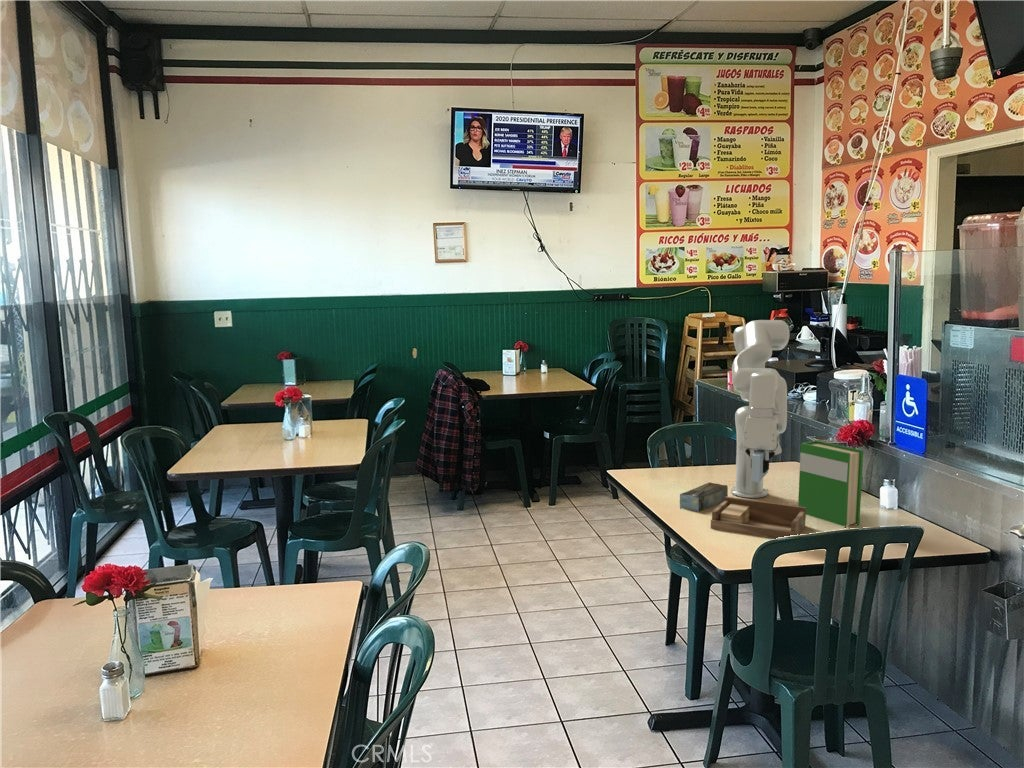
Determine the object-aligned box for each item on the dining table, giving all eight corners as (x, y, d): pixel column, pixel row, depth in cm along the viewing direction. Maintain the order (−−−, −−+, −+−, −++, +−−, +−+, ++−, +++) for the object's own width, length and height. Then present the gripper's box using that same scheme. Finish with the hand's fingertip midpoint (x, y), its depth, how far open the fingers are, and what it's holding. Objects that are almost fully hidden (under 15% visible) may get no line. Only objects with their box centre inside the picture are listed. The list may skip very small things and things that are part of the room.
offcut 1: (730, 508, 270) (730, 503, 269) (749, 510, 267) (749, 506, 266) (720, 517, 260) (720, 512, 260) (739, 520, 257) (740, 515, 257)
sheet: (760, 471, 264) (761, 446, 262) (767, 472, 262) (768, 447, 261) (751, 480, 253) (751, 455, 252) (759, 481, 252) (760, 456, 251)
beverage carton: (678, 510, 282) (678, 491, 281) (708, 498, 296) (709, 480, 295) (698, 515, 276) (699, 496, 275) (728, 503, 290) (729, 484, 289)
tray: (725, 517, 273) (725, 496, 272) (805, 528, 261) (806, 507, 260) (710, 531, 260) (711, 509, 259) (793, 544, 247) (794, 521, 246)
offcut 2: (730, 512, 270) (730, 508, 270) (749, 515, 267) (749, 510, 267) (720, 522, 260) (720, 517, 260) (739, 525, 257) (739, 520, 257)
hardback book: (859, 524, 264) (863, 450, 261) (844, 529, 260) (848, 453, 257) (812, 511, 279) (815, 440, 276) (797, 514, 275) (800, 443, 272)
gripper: (791, 412, 254) (789, 471, 257) (738, 408, 262) (736, 465, 265) (786, 417, 248) (784, 477, 251) (732, 412, 255) (730, 471, 258)
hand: (759, 471), depth 258 cm, fingers closed on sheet, 2 cm apart
